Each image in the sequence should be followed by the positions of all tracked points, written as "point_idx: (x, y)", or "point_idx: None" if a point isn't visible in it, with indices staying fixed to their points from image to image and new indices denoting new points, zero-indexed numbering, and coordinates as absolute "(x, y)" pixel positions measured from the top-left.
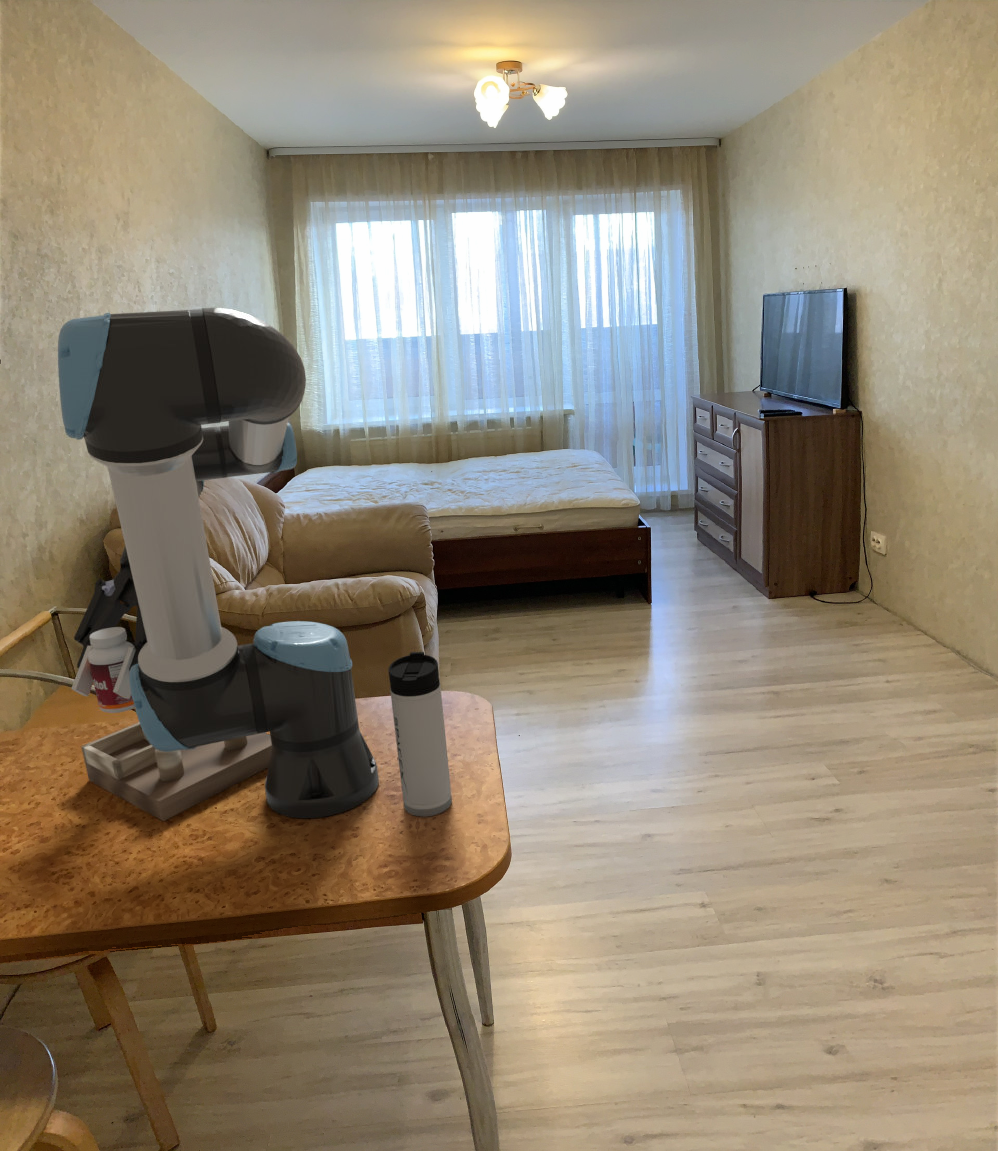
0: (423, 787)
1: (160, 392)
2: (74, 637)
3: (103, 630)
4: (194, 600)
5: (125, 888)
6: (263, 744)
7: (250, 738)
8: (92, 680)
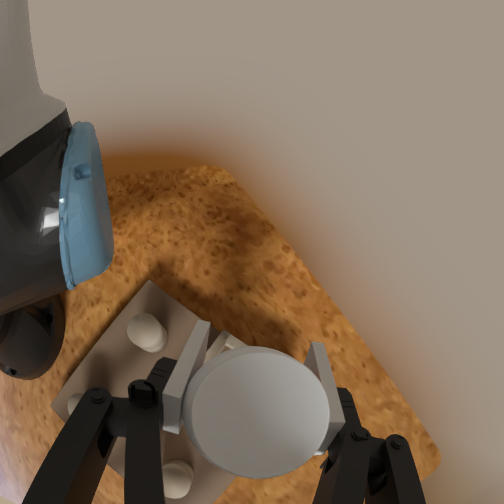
0: None
1: None
2: (406, 440)
3: (297, 443)
4: None
5: (157, 199)
6: (67, 399)
7: None
8: None
